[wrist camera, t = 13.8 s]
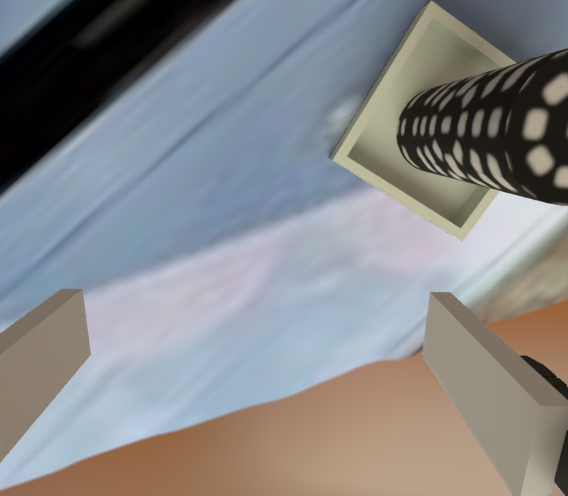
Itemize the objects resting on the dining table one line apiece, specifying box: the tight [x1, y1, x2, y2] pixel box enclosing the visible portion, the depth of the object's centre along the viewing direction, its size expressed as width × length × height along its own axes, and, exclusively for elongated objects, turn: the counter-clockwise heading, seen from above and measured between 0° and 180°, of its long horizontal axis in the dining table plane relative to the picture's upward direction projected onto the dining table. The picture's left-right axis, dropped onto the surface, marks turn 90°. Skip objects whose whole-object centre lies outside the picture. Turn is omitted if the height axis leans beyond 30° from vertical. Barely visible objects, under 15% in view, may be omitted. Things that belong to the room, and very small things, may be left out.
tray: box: [329, 1, 516, 241], centre depth 40 cm, size 16×16×3 cm
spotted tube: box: [396, 48, 568, 206], centre depth 31 cm, size 8×8×20 cm
